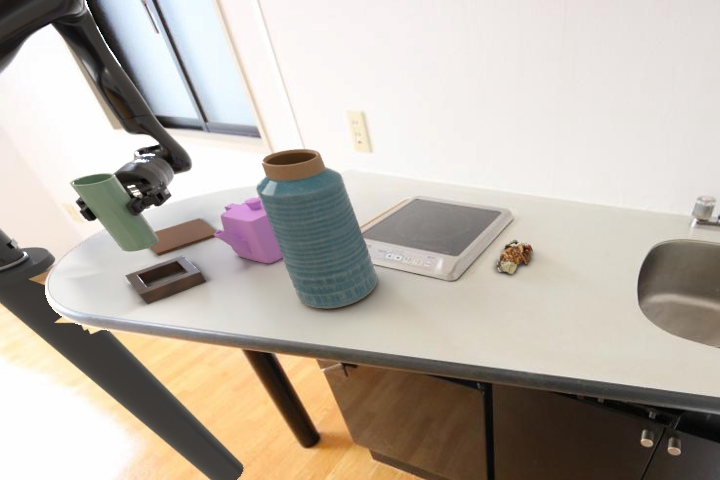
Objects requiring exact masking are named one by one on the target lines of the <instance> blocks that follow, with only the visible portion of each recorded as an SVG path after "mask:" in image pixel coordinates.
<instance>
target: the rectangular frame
mask: <svg viewBox="0 0 720 480" xmlns="http://www.w3.org/2000/svg"><path fill="white" fill-rule="evenodd" d="M182 271H184V273H183V274H180V275H178V276H177V275H176V276H174V277H171V278H169V279H166V280H164V281H160V282H158V283H156V284H152V285H151V286H147V284H149V283H152V282H155V281H157V280H160V279H163V278H166V277H169V276H171V275H173V274H177V273H179V272H182ZM124 276H125V278H126V279H127V280H128V282H129V283H130V284H131V286H132V287H133V288H134V290H135V291H136V292H137V294H138V295H139V297H141V298H142V300H143V301H144V302H145V303H146V304H147V305H150V304H153V303H155V302H158V301H160V300H163V299H165V298H168V297H171V296H173V295H175V294H178V293H180V292H183V291H186V290H188V289H191V288H193V287H196V286H198V285H201V284H203V283H206V282H207V279H206V278H205V277H204V275H203V273H202V272H201V271H200V270H199V269H198V268H197V267H196V266H195V265H194V264H193V263H192V262H191V261H190V260H189V259H188V258H186V256H185V255H179V256H176V257H174V258H171V259H168V260H165V261H162V262H160V263H159V262H158V263H156V264H153V265H151V266H148V267H145V268H142V269H139V270H137V271H133V272H131V273H127V274H125V275H124Z"/></svg>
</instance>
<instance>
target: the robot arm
mask: <svg viewBox="0 0 720 480" xmlns="http://www.w3.org/2000/svg"><path fill="white" fill-rule="evenodd" d="M49 25H51V27H53V28H54V29H55V30H56V32H57V33H58V34H59V35H60V36H61V37H62V39H63V40H64V41H65V42H66V44H67V45H68V46H69V48H70V49H71V51H72V52H73V53H74V55H75V56H76V57H77V59H78V61H79V62H80V64H81V66H82V67H83V69H84V70H85V72H86V74H87V76H88V77H89V80H90V81H91V83H92V84H93V86H94V88H95V89H96V91H97V92H98V94H99V96H100V97H101V99H102V100H103V102H104V103H105V105H106V106H107V107H108V110H110V112H111V113H112V114H113V116H114V118H115V119H116V121H117V122H118V123H119V125H120V126H121V127H122V129H123V130H124V131H125V132H126V133H127V134H128V135H131V136H147V137H150V138H151V139H153V140H155V141H156V142H157V143H155V144H152V145H151V144H150V145H147V146H146V145H145V146H143V147H139V148H137V149H136V150H135V151H134V152H133V159H132V160H131V161H129V162H127V163H125V164H124V165H122V166H121V167H120V168H118V169H117V170H116V171H115V172H114V173H113V174H114V175H115V176H116V178H117V179H118V180H119V182H120V183H121V185H122V186H123V188H124V189H125V191H126V192H127V193H128V195H129V196H130V198H131V200H130V201H129V202H128V203H127V204H126V207H127V209H128V210H129V211H130V213H131V214H132V215H133V216H138V215H139V214H140V213H143V212H144V211H145V210H148V209H151V206H154V207H161V206H162V205H164V204H165V203H166V202H167V201H168V200H169V199H170V198H171V197H172V194H171V192H170V190H169V189H168V187H169V186H170V184H171V183H172V182H173V180H174V177H175V175H180V174H185V173H187V172H189V171H191V170H192V168H193V161H192V158H191V155H190V154H189V153H188V151H187V150H186V149H185V148H184V147H183V146H182V145H181V144H180V143H179V142H178V141H177V140H176V139H175V138H174V136H172V135H171V134H170V133H169V132H168V130H167V129H165V127H164V126H163V125H162V124H161V123H160V122H159V120H158V119H157V117H156V116H155V114H154V113H153V111H152V110H151V108H150V106H149V105H148V104H147V102H146V100H145V99H144V97H143V95H142V94H141V93H140V91H139V90H138V88H137V87H136V86H135V84H134V83H133V81H132V80H131V78H130V77H129V75H128V74H127V73H126V72H125V70H124V69H123V67H122V66H121V64H120V63H119V61H118V60H117V58H116V56H115V55H114V53H113V52H112V50H111V48H109V46H108V44H107V43H106V41H105V39H104V37H103V35H102V34H101V32H100V30H99V27H98V26H97V24H96V22H95V20H94V17H93V15H92V13H91V11H90V8H89V7H88V4H87V1H86V0H0V76H1V75H2V74H3V73H5V71H7V69H8V68H9V67H10V66H11V65H12V63H13V62H14V61H15V59H16V57H18V55H19V53H20V51H21V49H22V48H23V46H24V45H25V43H27V41H28V40H29V39H30V38H31V37H32V36H34V35H35V34H36V33H38V32H39V31H41V30H43V29H44V28H46V27H47V26H49ZM75 204H76V205H77V206H78V207H79V208H80V210H79V213H80V214H81V216H82V217H83V218H84V219H85V220H87V222H94V221H96V220H98V219H97V217H96V216H95V215H94V214H93V212H92V211H91V210H90V208H89V207H88V206H87V205H86V203H85V202H84V201H83V200H82V198H81V197H80V196H79V197H78V198H77V199H76V201H75ZM18 244H19V242H17V241H16V239H14V238H11V237H10V236H9V235H8V234H7V233H6V232H5V231H4V230H3V229H2V228H1V227H0V272H3V271H7V270H10V269H12V268H15V267H17V266H19V265H21V264H23V263H25V262H26V261H27V260H28V259H29V255H28V254H27V253H26V252H24V251H23V250H22V249H21V247H20V246H19V245H18Z"/></svg>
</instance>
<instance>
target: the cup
mask: <svg viewBox="0 0 720 480" xmlns="http://www.w3.org/2000/svg"><path fill="white" fill-rule="evenodd" d="M69 185H71V186H70V187H72V188H73V190H74V192H76V194H77V196H79V197H81V198H82V200H83V201H84V202H85V203H86V205H87V206H88V207H89V208H90V210H91V211H92V212H93V214H94V215H95V216H96V217H97V219H96V220H98V221H99V222H100V224H101V225H102V226H103V228H104V229H105V231H107V233H108V234H109V235H110V237H111V238H112V239H113V240H114V241H115V242H116V244H117V246H118V247H119V248H120V249H121V251H123V252H127V253H129V252H130V253H131V252H132V253H133V252H140V251H143V250H146V249H147V250H148V249H149V248H151V247H152V246H154V245H155V244H157V243H158V242H159V238H158V236H157V235H156V234H155V232H156V231H154V229H153V228H152V226H151V225H150V223H149V222H148V220H147V219H146V218H145V215H143V214H142V213H143V212H141V213H140V214H139V215H138V216H133V215H132V214H131V213H130V211H129V210H128V209H127V207H126V204H127V203H128V202H129V201H130V200H131V198H130V196H129V195H128V193H127V192H126V191H125V189H124V188H123V186H122V185H121V183H120V182H119V180H118V179H117V178H116V176H115V175H114V173H110V172H105V173H103V172H102V173H93V174H89V175H84V176H81V177H77V178H75V179H73V180H71V181H70V182H69Z"/></svg>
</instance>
